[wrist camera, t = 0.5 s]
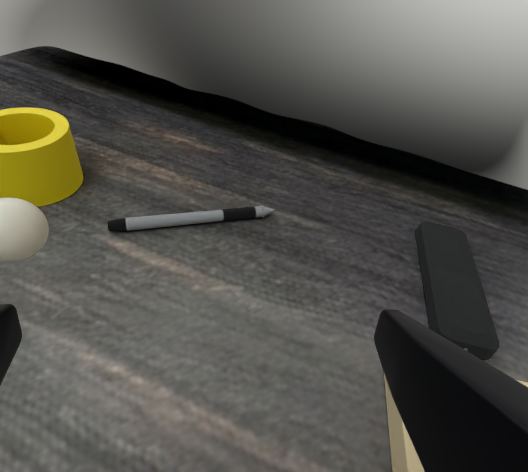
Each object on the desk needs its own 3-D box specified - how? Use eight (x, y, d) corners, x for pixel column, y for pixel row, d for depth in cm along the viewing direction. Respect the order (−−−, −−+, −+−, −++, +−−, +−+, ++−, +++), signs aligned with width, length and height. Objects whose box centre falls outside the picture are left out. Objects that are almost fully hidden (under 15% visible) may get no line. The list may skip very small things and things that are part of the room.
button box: (603, 641, 17) (681, 651, 14) (402, 592, 17) (440, 592, 15) (515, 396, 26) (554, 372, 23) (383, 366, 26) (404, 339, 23)
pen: (109, 226, 33) (107, 216, 32) (273, 210, 37) (275, 201, 36) (109, 236, 32) (106, 225, 31) (277, 218, 37) (279, 209, 36)
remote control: (412, 230, 39) (432, 346, 28) (419, 218, 38) (442, 334, 26) (456, 241, 38) (494, 363, 27) (464, 229, 37) (508, 351, 26)
